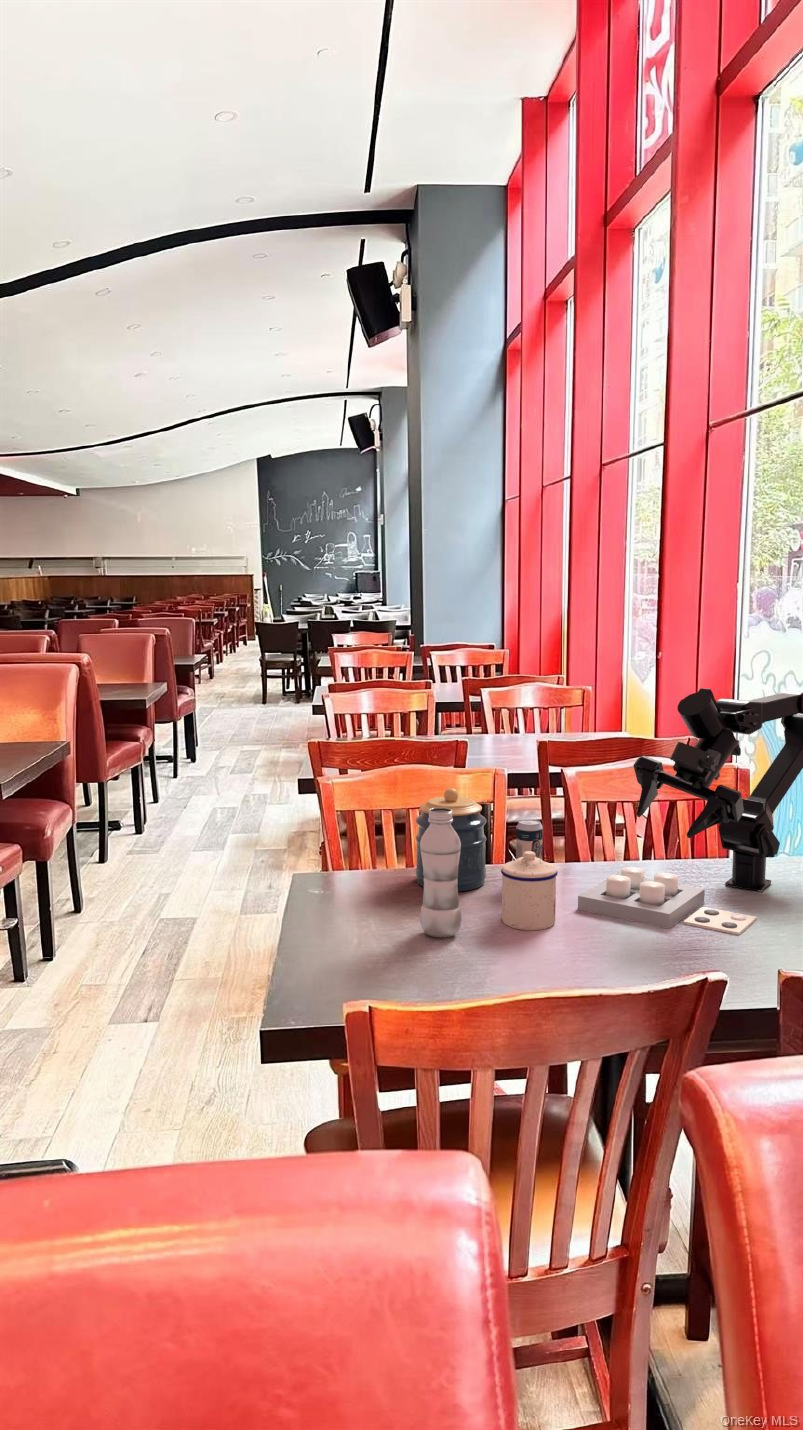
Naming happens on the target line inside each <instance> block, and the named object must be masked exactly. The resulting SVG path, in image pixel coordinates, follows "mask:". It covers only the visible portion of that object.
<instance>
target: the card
mask: <svg viewBox="0 0 803 1430" xmlns="http://www.w3.org/2000/svg"><path fill="white" fill-rule="evenodd" d="M757 920H758V917H757V916H753V915H748V914H744V913H743V914H742V913H737V912H731V911H727V910H723V909H718V908H712V907H706V906H702V907H700V908H698V910H696V911H695V912H694V913H691V915H689V916H688V917H687V918H686V919H684V920H683V922H682V923H683V925H688V926H693V927H698V928H702V929H703V928H704V929H707V930H713V931H717V932H722V933H728V934H733V935H738V936H740V935H741V934H742V933H743V932H744V931H746V929H748V928H750V926H751V925H752V924H753V923H755V922H756V921H757Z"/></svg>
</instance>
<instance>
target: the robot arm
mask: <svg viewBox="0 0 803 1430" xmlns="http://www.w3.org/2000/svg"><path fill="white" fill-rule="evenodd" d="M677 713H678V714H679V715H680V717H681V719H682V721H683V723H684V725H686V728H687V730H688V731H689V733H690V735H691V736H692V737H693V738H695V739H698V741H696V743H695V745H694V746H692V745H690V744H687V743H684V742H682V741H677V743H676V745H675V748H674V749H673V752H672V754H671V756H670V758H669V759H670V761H673V762H674V764H673V766H672V768H673V771H674V772H675V774H672V773H669V772H667V771H664V766H663V763H662V761H660V760H656V759H654V758H653V757H649V756H646V755H643V756H639V757H638V758H637V759H636V760H635V762H634V764H633V765H632V766H633V769H634V773H635V778H636V781H637V783H638V784H639V785H640V787H641V793H640V798H639V801H638V806H637V810H636V816H637V818H641V817H642V815H643V814H644V813H646V811H647V810H648V808H649V807H650V806H651V804H652V803H653V802H654V800H655V799H656V797H658V795H659V793H658V790H660V789H661V788H662V787H663V785H667V786H668V787H671V788H674V789H676V790H679V791H682V792H684V793H686V794H689V795H691V796H694V797H697V798H699V799H701V800H704V801H706V803H705V806H704V808H703V809H702V810H701V812H700V813H699V814H698V816H697V817H696V818H695V820H694V821H693V823H692V824H691V826H690V827H689V829H688V831H687V832H686V838H687V839H691V838H692V837H694V836H696V835H697V834H699V833H701V832H703V831H705V830H707V829H710V828H711V827H714V826H715V825H718V833H719V838H720V844H721V847H722V849H723V850H729V851H732V867H731V868H732V869H731V871H732V872H731V873H732V874H731V878H729V879H728V880H727V881H725V884H724V885H725V886H729V887H735V888H740V889H745V890H752V891H757V892H763V891H764V890H765V889H766V888H767V887H769V885H770V884H772V880H771V879H766V873H767V872H766V869H767V858H770V859H771V858H772V859H773V858H775V857H776V855H778V853H779V849H780V845H781V842H780V841H779V839H778V838H777V836H776V835H775V833H774V832H773V831H774V829H775V828H774V827H775V825H774V816H773V814H774V813H775V810H776V809H778V806H779V805H780V803H781V801H782V800H783V799H784V797H785V796H786V794H787V793H788V791H789V790H790V788H791V787H792V785H793V784H794V782H795V781H796V780H797V778H798V776H799V775H800V773H801V771H803V691H793V690H785V691H781V692H780V693H776V694H773V695H772V694H771V695H767V696H762V697H759V698H755V699H750V700H746V699H745V700H742V699H730V698H719V699H718V700H716V699H715V696H714V693H713V691H712V688H702V687H700V688H699V690H698V691H697V692H694V693H690V694H689V695H687V696H685V697H684V698H682V699H680V701H679V702H678V705H677ZM779 719H780V724H781V725H782V726H783V728H784V730H783V733H784V734H783V735H784V742H785V743H784V745H783V746H782V748H781V749H780V750H779V753H778V754H777V755H776V756H775V758H774V759H773V760H772V763H771V764H770V765H769V767H768V769H767V770H766V771H765V773H764V774H763V775H762V777H761V778H760V780H759V782H758V783H757V785H756V786H755V788H754V789H752V792H751V793H750V795H749V796H748V797H747V798H743V795H742V792H741V791H739V790H736V789H734V788H731V787H728V786H726V785H723V784H719V785H717V786H716V788H715V790H713V789H711V788H710V787H711V785H712V784H713V782H714V780H715V781H718V779H720V777H721V773H720V771H721V770H722V768H724V765H725V763H727V761H728V759H729V758H730V757H731V756H738V757H741V755H742V750H741V746H740V740H739V739H737V738H736V737H735V735H734V734H741V735H751V734H753V733H755V732H757V731H759V730H761V729H762V728H763V724H764V723H767V722H771V721H775V720H779Z"/></svg>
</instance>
